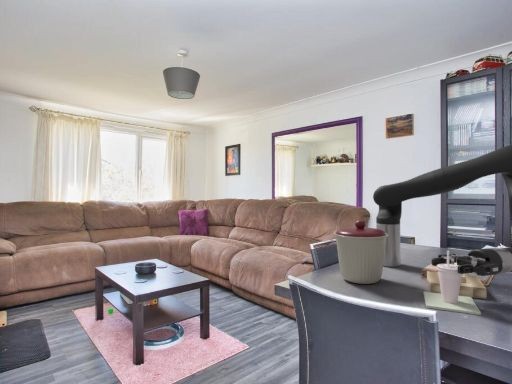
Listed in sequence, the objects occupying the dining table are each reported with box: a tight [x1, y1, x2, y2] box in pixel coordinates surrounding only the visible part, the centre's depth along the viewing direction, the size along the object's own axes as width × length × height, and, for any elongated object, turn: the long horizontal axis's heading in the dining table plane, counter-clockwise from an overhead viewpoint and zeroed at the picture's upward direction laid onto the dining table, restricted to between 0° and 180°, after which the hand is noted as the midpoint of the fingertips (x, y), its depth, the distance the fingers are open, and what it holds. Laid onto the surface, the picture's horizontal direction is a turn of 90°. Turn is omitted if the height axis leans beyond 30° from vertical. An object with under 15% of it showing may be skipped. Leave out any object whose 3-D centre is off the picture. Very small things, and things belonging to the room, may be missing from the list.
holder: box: [426, 270, 487, 300], centre depth 97 cm, size 14×14×3 cm
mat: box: [423, 291, 482, 316], centre depth 85 cm, size 12×12×1 cm
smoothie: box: [436, 250, 462, 303], centre depth 85 cm, size 6×6×14 cm
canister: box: [333, 219, 388, 285], centre depth 107 cm, size 18×18×21 cm
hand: (445, 265), depth 84 cm, fingers open, 8 cm apart
